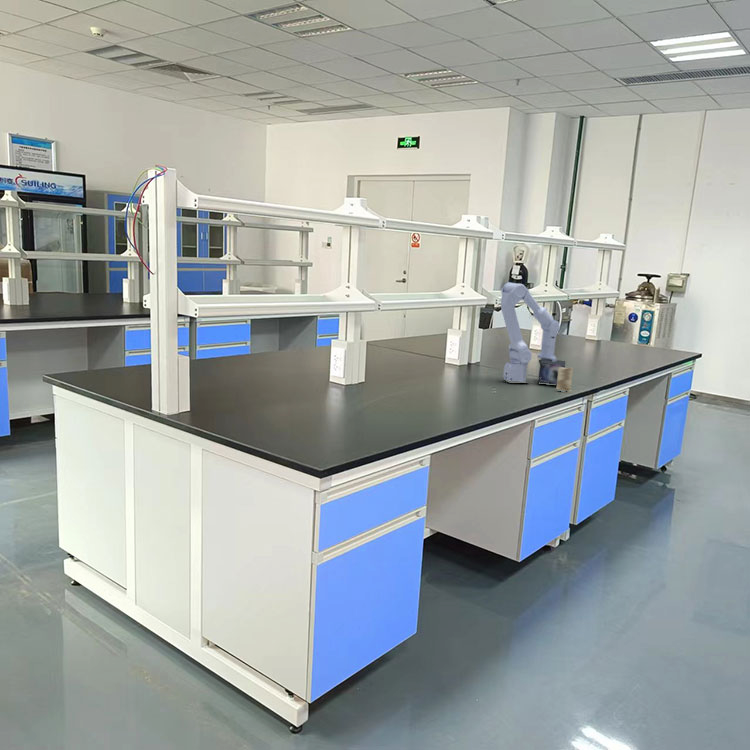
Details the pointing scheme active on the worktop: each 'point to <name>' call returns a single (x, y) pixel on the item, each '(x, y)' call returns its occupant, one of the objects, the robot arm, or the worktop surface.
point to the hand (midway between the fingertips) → (544, 376)
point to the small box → (549, 371)
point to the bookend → (564, 379)
